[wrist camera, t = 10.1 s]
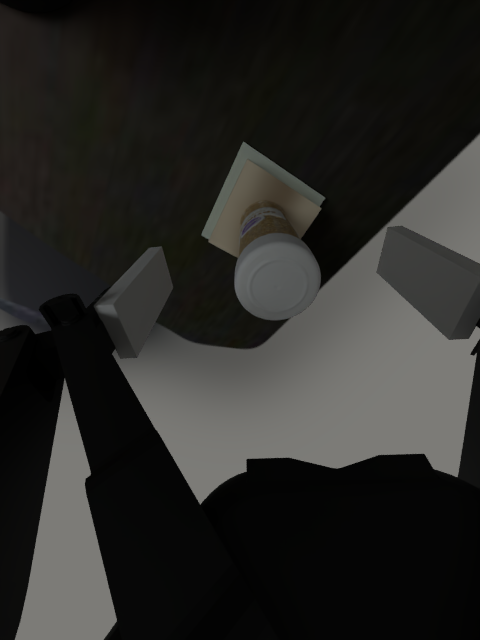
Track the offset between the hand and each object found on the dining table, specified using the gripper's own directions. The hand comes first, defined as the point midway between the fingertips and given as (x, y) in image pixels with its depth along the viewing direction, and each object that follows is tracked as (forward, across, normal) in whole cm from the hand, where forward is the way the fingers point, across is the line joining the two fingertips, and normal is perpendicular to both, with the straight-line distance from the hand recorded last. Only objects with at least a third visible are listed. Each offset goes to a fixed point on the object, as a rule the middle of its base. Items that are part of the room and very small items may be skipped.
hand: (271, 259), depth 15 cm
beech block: (+14, 0, -1) cm, 15 cm away
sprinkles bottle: (+11, 0, -1) cm, 11 cm away
